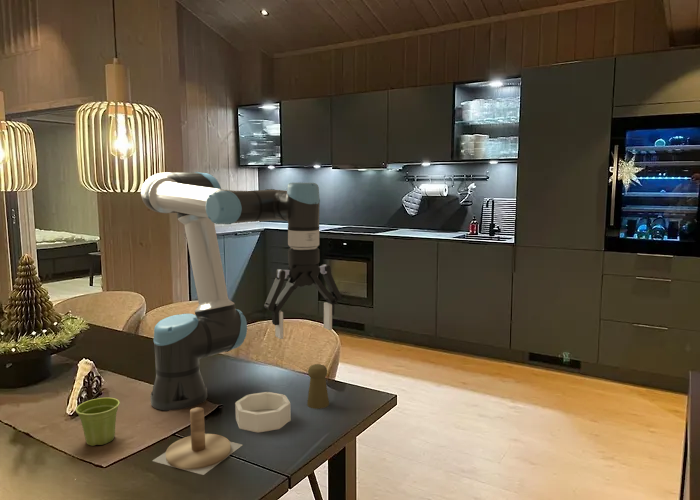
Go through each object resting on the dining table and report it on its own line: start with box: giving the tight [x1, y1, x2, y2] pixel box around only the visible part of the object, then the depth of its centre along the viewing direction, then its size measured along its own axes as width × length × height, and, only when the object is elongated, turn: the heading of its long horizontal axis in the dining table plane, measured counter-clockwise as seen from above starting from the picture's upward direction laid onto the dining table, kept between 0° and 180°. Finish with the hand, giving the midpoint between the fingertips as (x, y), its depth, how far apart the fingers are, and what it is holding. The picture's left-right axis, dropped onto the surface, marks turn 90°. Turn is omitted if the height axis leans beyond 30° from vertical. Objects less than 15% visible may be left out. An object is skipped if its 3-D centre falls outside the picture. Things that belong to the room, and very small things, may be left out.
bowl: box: [234, 391, 292, 433], centre depth 137 cm, size 13×13×5 cm
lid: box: [165, 406, 231, 470], centre depth 121 cm, size 14×14×10 cm
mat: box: [152, 441, 243, 476], centre depth 121 cm, size 14×14×1 cm
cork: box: [306, 363, 330, 410], centre depth 147 cm, size 6×6×11 cm
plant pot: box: [75, 397, 121, 446], centre depth 128 cm, size 9×9×9 cm
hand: (304, 333), depth 133 cm, fingers open, 13 cm apart
